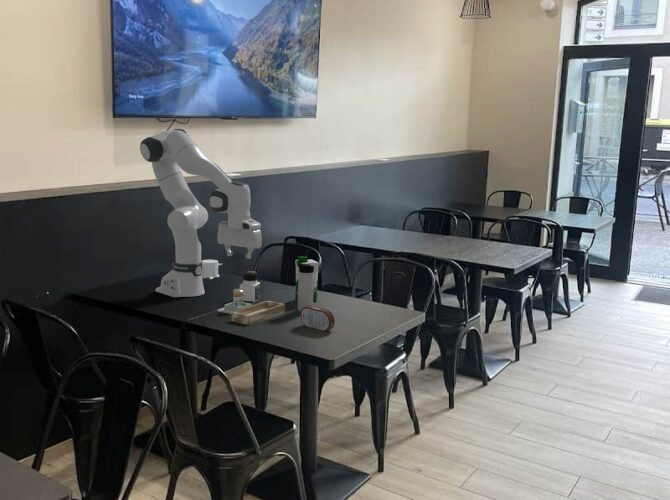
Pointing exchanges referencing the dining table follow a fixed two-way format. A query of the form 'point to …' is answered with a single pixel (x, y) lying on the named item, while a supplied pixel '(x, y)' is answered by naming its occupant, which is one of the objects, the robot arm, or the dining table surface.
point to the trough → (257, 312)
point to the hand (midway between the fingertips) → (239, 257)
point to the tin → (317, 318)
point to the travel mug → (305, 286)
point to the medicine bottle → (250, 287)
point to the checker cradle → (232, 307)
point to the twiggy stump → (210, 269)
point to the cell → (238, 297)
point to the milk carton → (313, 263)
